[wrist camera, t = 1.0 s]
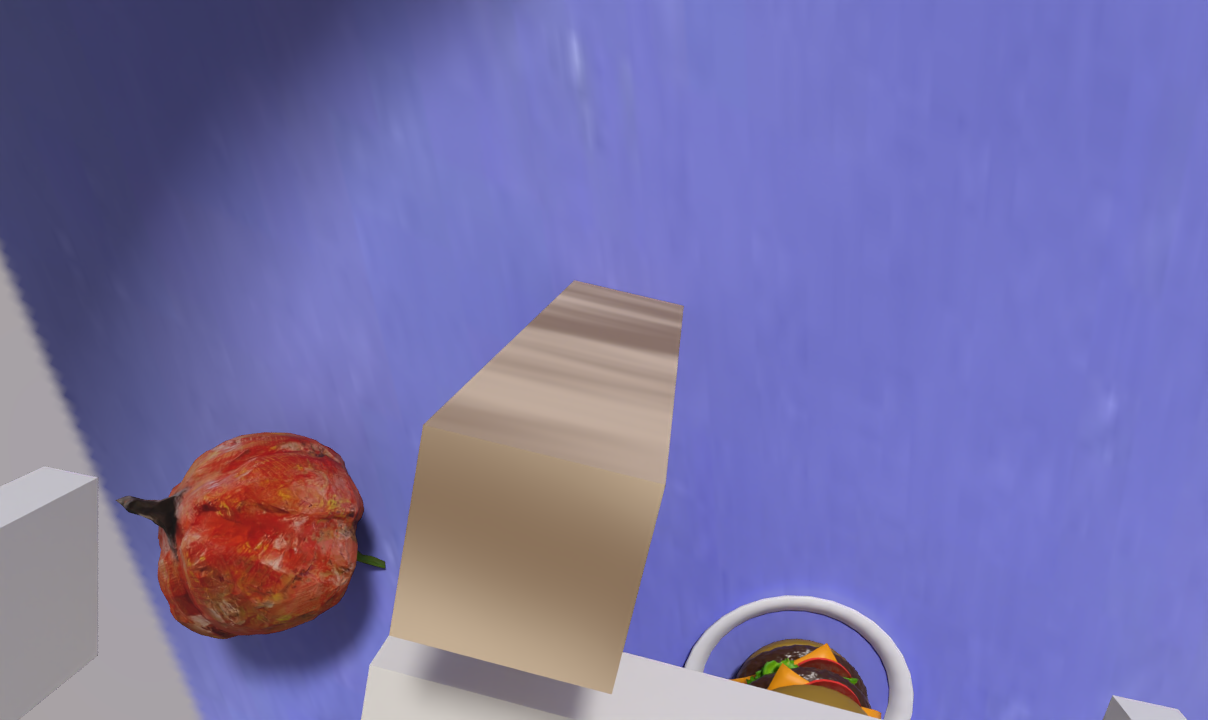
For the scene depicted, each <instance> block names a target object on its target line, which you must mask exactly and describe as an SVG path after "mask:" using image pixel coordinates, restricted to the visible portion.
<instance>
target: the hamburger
mask: <svg viewBox="0 0 1208 720" xmlns="http://www.w3.org/2000/svg"><path fill="white" fill-rule="evenodd" d="M784 610H798V611H809V612H814V613H819V614H824V615H827V616H829V617H832V618H834V619H837V620H839V621H842V622H843V623H845V624H847V625H848V626H850V627H851V628H853V629H855V630H856V631H858V632H859V633H860V634H861V635H862V636H863V637H864V638H865V639H866V640H867V641H868V642H870V643H871V645H872V646H873V647H874V649H875V650H876V652H877V653H878V655H879V656H880V657H881V659H882V662H883V664H884V667H885V669H886V671H887V676H888V682H889V687H890V688H889V704H888V707H887V710H886V714H885V717H884V720H910V719H911V716H912V710H913V696H914V692H913V686H912V680H911V674H910V671H909V669H908V667H907V664H906V662H905V659H904V657H903V655H902V653H901V652H900V650H899V649H898V647H897V646H896V645H895V643H894V642H893V640H892V639H891V638H890V636H889V635H887V634H886V633H885V632H884V631H883V630H882V629H881V628H880V627H879V626H878V625H877V624H876V623H875V622H873V621H872V620H870V619H869V618H867V617H865V616H864V615H862V614H861V613H859V612H858V611H856V610H854V609H852V608H849V607H847V606H844V605H842V604H839V603H837V602H834V601H830V600H826V599H821V598H816V597H811V596H787V595H786V596H779V597H772V598H765V599H761V600H758V601H755V602H752V603H749V604H746V605H743V606H740V607H738V608H737V609H735V610H733V611H731V612H729V613H728V614H726V615H724V616H722V617H721V618H720V619H719V620H717V621H716V622H715V623H714V624H713V625H711V626H710V627H709V628H708V629H707V630H706V631H705V632H704V633H703V635H702V636H701V637H700V638H699V640H698V641H697V642H696V644H695V645H694V646H693V648H692V650H691V653H690V655H689V657H688V659H687V661H686V663H685V667H684V668H686V669H690V670H694V671H698V672H701V673H703V671H704V667H705V664H706V662H707V660H708V658H709V656H710V653H711V651H712V650H713V649H714V647H715V646H716V645H717V644H718V642H719V641H720V640H721V639H722V637H724V636H725V635H726V634H727V633H728V632H730V631H731V630H732V629H733V628H734V627H736V626H738V625H740V624H741V623H743V622H745V621H747V620H749V619H751V618H754V617H757V616H760V615H763V614H766V613H770V612H777V611H784ZM728 680H732V681H736V682H740V683H744V684H747V685H751V686H755V687H759V688H763V689H767V690H770V691H774V692H778V693H782V694H786V695H790V696H793V697H797V698H801V699H805V700H809V701H813V702H816V703H820V704H824V705H828V706H832V707H836V708H839V709H843V710H847V711H851V712H855V713H859V714H862V715H866V716H870V717H874V718H878V719H881V713H880V712H878V711H876V710H873V709H871V706H870V704H869V702H868V698H867V690H866V687H865V685H864V684H863V681H862V679H861V677H860V676H859V675H858V672H857V671H856V670H855V668H854V667H852V666H851V665H850V664H849V663H848V662H847V661H846V659H845V658H843V657H842V656H841V655H840V654H838V653H837V652H836V651H834V650H833V649H831V648H829V646H828V644H827V643H826V644H824V645H823V644H821V643H817V642H814V641H811V640H803V639H786V640H781V641H777V642H773V643H771V644H768V645H766V646H764V647H762V648H760V649H759V650H758V651H756V652H755V653H753V654H752V655H751V656H750V657H749V658H748V659H747V660H746V662H745V663H744V665H743V666H742V668H741V669H740V671H739V673H738V674H737V677H736V679H728Z"/></svg>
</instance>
